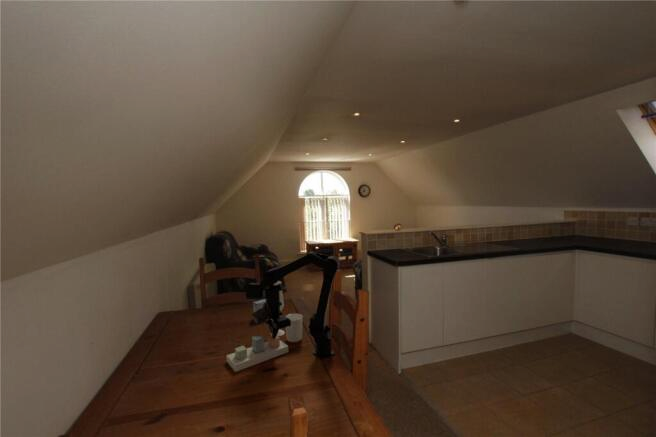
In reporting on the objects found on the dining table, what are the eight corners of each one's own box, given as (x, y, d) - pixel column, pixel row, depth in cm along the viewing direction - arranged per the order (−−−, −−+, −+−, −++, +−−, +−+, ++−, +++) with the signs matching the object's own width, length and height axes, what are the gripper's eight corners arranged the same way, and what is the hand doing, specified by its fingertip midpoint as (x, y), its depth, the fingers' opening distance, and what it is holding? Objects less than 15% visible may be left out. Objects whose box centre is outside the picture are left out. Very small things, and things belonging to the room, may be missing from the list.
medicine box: (266, 314, 161) (265, 298, 161) (270, 316, 158) (270, 300, 157) (253, 318, 156) (252, 302, 155) (257, 320, 153) (256, 304, 152)
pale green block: (247, 361, 111) (246, 348, 111) (238, 364, 109) (238, 351, 109) (243, 358, 114) (243, 345, 114) (235, 361, 112) (234, 348, 112)
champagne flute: (286, 334, 135) (284, 283, 134) (271, 337, 133) (269, 285, 131) (283, 329, 141) (281, 279, 140) (269, 331, 139) (267, 281, 138)
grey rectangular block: (264, 350, 116) (263, 337, 115) (255, 352, 113) (255, 340, 113) (260, 346, 118) (259, 334, 118) (252, 349, 116) (251, 337, 116)
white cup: (300, 343, 126) (299, 320, 126) (282, 342, 128) (282, 319, 127) (305, 335, 134) (304, 314, 133) (288, 334, 135) (288, 313, 135)
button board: (288, 351, 119) (288, 345, 119) (235, 371, 106) (235, 365, 106) (277, 343, 126) (277, 338, 126) (226, 361, 113) (226, 355, 113)
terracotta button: (279, 349, 120) (279, 337, 120) (272, 352, 118) (272, 340, 118) (276, 346, 123) (275, 335, 122) (268, 349, 121) (268, 337, 120)
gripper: (244, 299, 122) (246, 335, 122) (264, 311, 107) (266, 353, 108) (269, 293, 128) (270, 328, 129) (291, 304, 114) (292, 343, 115)
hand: (274, 337), depth 120 cm, fingers closed, pressing on terracotta button
